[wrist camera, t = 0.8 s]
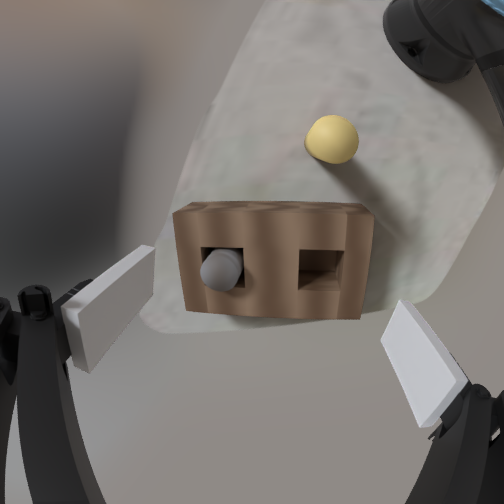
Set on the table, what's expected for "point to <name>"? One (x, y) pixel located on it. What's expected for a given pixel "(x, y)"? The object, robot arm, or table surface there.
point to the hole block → (274, 258)
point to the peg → (332, 139)
